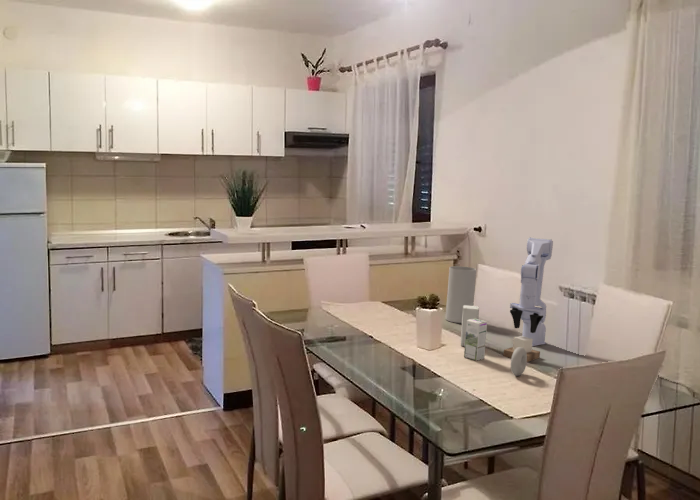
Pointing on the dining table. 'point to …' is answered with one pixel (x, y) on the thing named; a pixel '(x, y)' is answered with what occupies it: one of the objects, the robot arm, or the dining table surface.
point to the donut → (518, 361)
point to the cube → (523, 343)
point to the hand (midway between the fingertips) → (524, 330)
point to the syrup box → (475, 339)
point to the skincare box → (468, 313)
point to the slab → (530, 355)
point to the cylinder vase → (459, 291)
